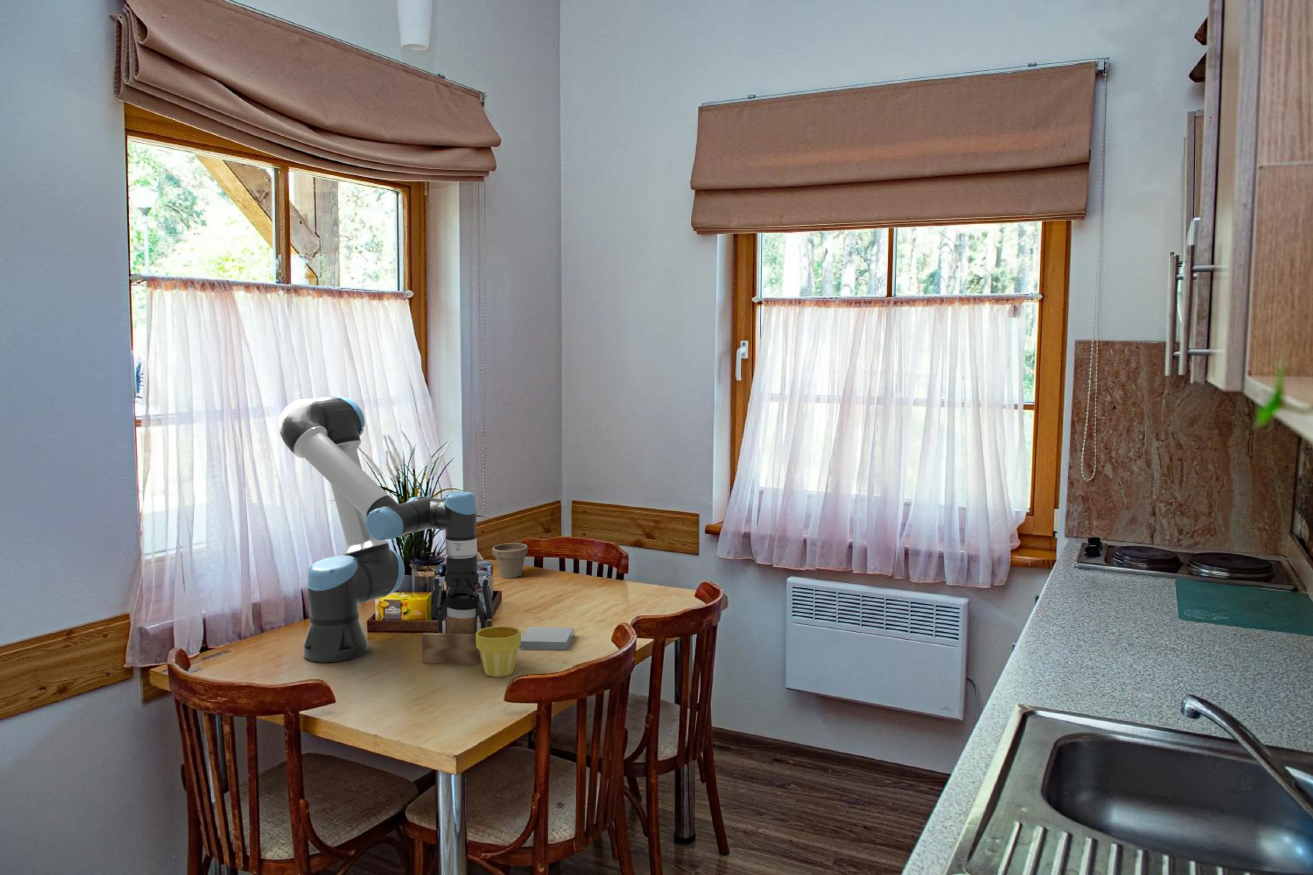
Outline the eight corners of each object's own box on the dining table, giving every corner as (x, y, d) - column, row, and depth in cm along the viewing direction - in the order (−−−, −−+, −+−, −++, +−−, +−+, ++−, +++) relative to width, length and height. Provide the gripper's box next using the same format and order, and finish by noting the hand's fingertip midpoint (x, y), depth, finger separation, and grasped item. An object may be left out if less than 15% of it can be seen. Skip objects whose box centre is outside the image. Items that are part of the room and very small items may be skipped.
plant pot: (501, 661, 231) (500, 622, 230) (530, 670, 225) (529, 630, 224) (467, 673, 223) (466, 632, 222) (497, 683, 217) (496, 641, 216)
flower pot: (507, 582, 307) (506, 551, 306) (486, 576, 314) (485, 546, 313) (535, 576, 315) (534, 546, 314) (513, 570, 323) (513, 541, 322)
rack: (422, 662, 231) (421, 634, 230) (439, 644, 244) (438, 618, 243) (479, 663, 230) (478, 635, 229) (493, 646, 243) (492, 619, 242)
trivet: (518, 648, 241) (518, 641, 241) (528, 634, 253) (528, 626, 252) (565, 649, 240) (565, 642, 240) (573, 635, 252) (573, 627, 252)
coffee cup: (469, 661, 232) (472, 601, 230) (436, 656, 234) (440, 596, 232) (482, 650, 240) (485, 592, 238) (451, 645, 242) (454, 587, 240)
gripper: (415, 557, 231) (417, 649, 234) (499, 559, 230) (501, 651, 232) (424, 551, 239) (426, 639, 241) (507, 552, 237) (508, 641, 239)
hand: (463, 645), depth 236 cm, fingers open, 8 cm apart
